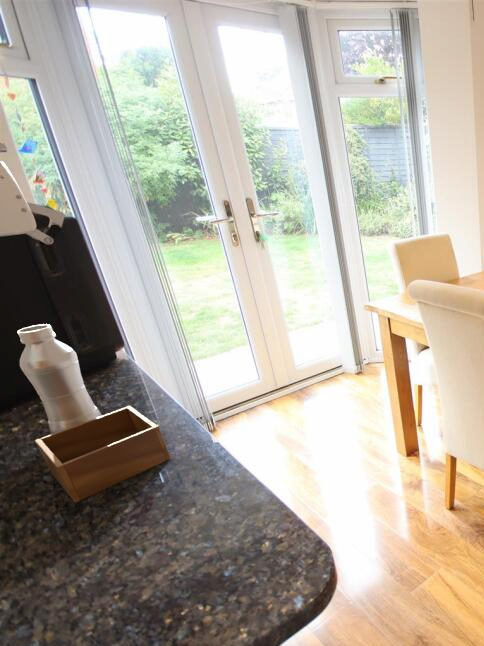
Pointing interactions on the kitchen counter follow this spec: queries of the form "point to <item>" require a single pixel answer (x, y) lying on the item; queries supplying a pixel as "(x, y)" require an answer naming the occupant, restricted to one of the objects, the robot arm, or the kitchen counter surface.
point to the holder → (103, 452)
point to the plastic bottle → (56, 378)
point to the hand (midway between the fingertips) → (7, 276)
